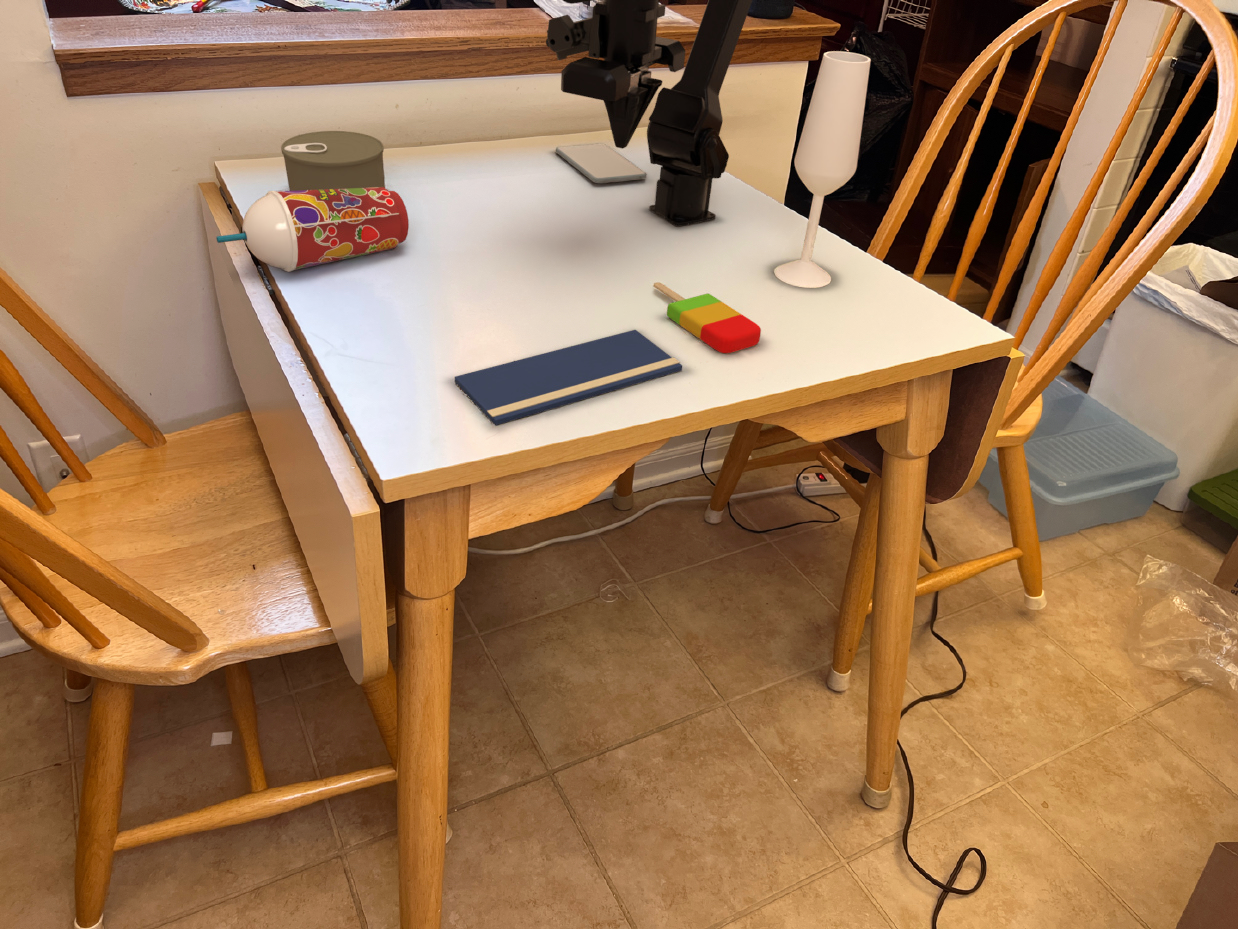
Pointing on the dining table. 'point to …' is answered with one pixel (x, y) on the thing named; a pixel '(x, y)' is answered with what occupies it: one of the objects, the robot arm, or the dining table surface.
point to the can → (333, 161)
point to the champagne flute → (828, 149)
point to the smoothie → (322, 225)
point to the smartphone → (600, 163)
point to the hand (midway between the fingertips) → (620, 147)
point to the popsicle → (712, 321)
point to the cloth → (565, 376)
